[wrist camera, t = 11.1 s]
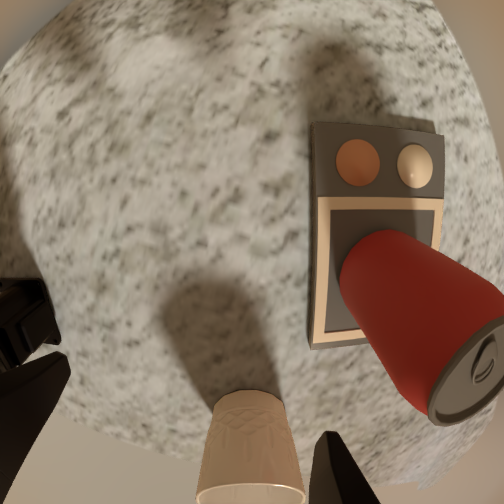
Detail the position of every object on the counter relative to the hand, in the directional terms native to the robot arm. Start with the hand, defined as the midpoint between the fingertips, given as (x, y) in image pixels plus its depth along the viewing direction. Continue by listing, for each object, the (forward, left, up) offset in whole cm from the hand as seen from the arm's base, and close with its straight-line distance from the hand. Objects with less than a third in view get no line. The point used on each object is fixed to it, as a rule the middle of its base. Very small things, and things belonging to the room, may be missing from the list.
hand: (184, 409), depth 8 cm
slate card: (+12, +1, -13) cm, 17 cm away
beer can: (+11, -1, -12) cm, 16 cm away
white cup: (+2, -15, -13) cm, 19 cm away
